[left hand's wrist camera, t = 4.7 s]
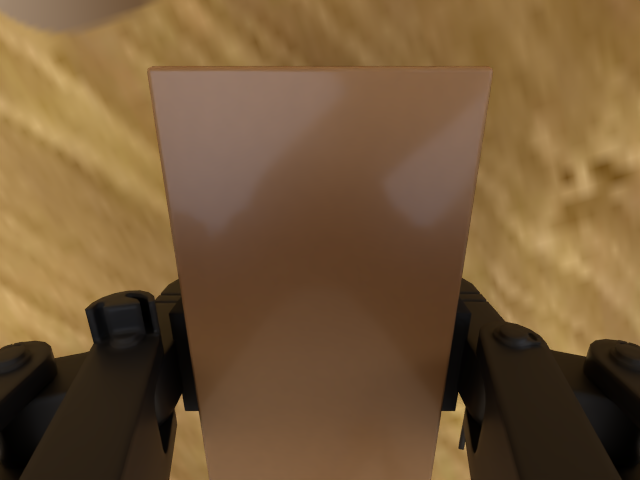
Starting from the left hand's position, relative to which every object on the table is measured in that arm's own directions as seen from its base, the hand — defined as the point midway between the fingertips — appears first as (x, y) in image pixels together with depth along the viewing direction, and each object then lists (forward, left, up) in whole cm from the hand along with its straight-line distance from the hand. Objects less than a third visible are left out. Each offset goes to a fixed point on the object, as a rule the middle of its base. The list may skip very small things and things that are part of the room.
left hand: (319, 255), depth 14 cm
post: (+23, +10, -1) cm, 26 cm away
